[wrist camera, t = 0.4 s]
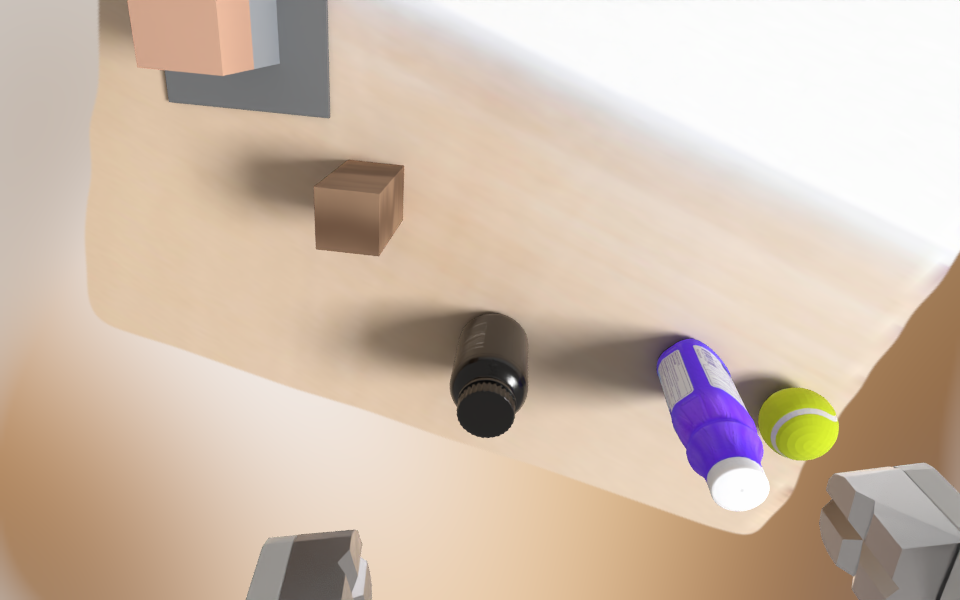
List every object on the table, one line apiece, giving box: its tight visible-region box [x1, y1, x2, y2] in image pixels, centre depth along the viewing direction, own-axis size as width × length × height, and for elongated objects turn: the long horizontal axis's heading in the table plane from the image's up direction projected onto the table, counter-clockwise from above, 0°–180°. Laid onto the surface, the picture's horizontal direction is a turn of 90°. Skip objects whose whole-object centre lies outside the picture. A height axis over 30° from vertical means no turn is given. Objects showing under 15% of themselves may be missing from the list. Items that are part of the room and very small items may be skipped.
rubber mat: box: [165, 0, 330, 118], centre depth 50 cm, size 14×14×1 cm
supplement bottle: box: [450, 313, 528, 438], centre depth 55 cm, size 7×7×12 cm
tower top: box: [127, 0, 254, 76], centre depth 43 cm, size 6×6×5 cm
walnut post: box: [314, 160, 404, 256], centre depth 51 cm, size 5×5×9 cm
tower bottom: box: [249, 0, 280, 69], centre depth 47 cm, size 6×6×5 cm
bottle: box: [657, 338, 769, 511], centre depth 52 cm, size 7×6×17 cm
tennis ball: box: [758, 388, 839, 460], centre depth 57 cm, size 7×7×7 cm
